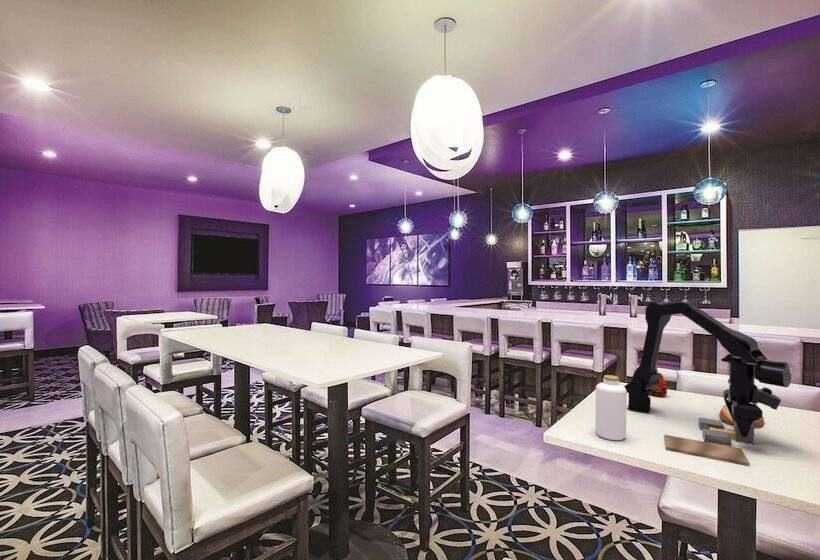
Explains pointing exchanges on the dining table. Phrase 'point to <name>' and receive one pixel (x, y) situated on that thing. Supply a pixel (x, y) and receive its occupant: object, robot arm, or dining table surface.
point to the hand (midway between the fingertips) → (740, 431)
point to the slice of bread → (728, 419)
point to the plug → (738, 434)
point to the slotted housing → (714, 432)
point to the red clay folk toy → (659, 387)
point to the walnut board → (706, 449)
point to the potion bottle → (611, 409)
